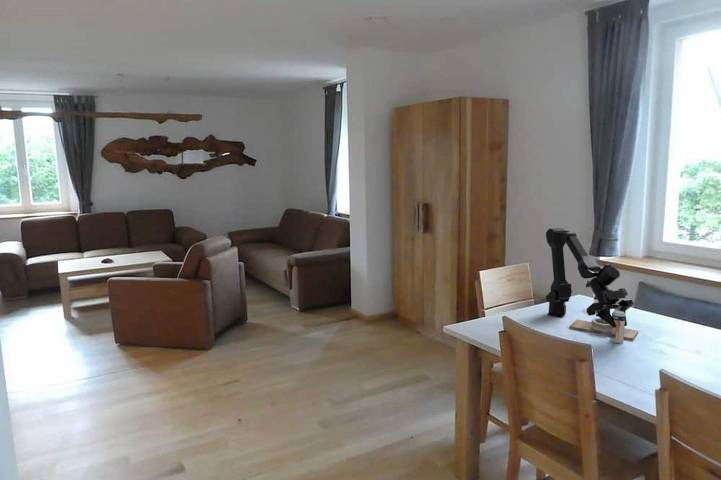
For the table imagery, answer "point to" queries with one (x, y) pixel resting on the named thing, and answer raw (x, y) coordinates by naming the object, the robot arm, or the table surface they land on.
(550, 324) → the table surface
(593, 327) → the socket board
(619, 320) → the beer can
